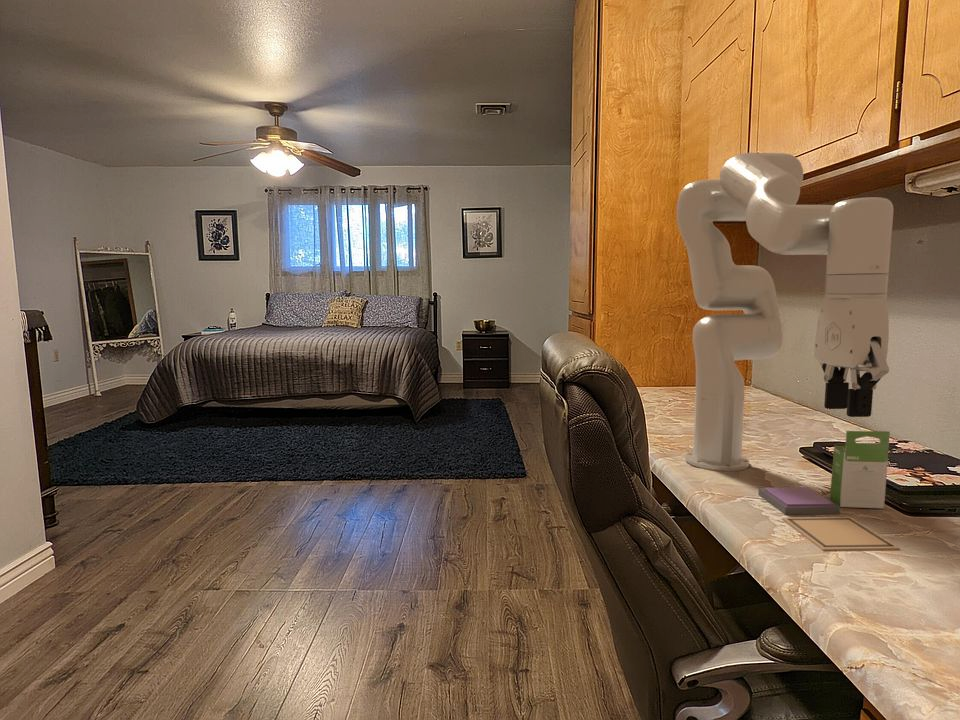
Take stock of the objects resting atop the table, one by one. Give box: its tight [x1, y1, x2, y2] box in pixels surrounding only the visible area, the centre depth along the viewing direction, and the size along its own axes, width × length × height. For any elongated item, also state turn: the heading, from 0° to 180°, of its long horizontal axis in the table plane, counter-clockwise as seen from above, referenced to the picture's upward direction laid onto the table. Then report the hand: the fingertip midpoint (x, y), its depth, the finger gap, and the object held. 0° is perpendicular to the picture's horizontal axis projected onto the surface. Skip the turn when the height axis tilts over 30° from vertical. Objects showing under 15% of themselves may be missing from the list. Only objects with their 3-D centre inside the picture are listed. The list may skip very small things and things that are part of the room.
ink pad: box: [757, 486, 841, 515], centre depth 99 cm, size 9×9×2 cm
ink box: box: [829, 430, 891, 509], centre depth 98 cm, size 7×4×13 cm, turn 81°
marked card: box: [781, 516, 901, 552], centre depth 87 cm, size 11×11×1 cm
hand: (846, 411), depth 85 cm, fingers open, 4 cm apart
